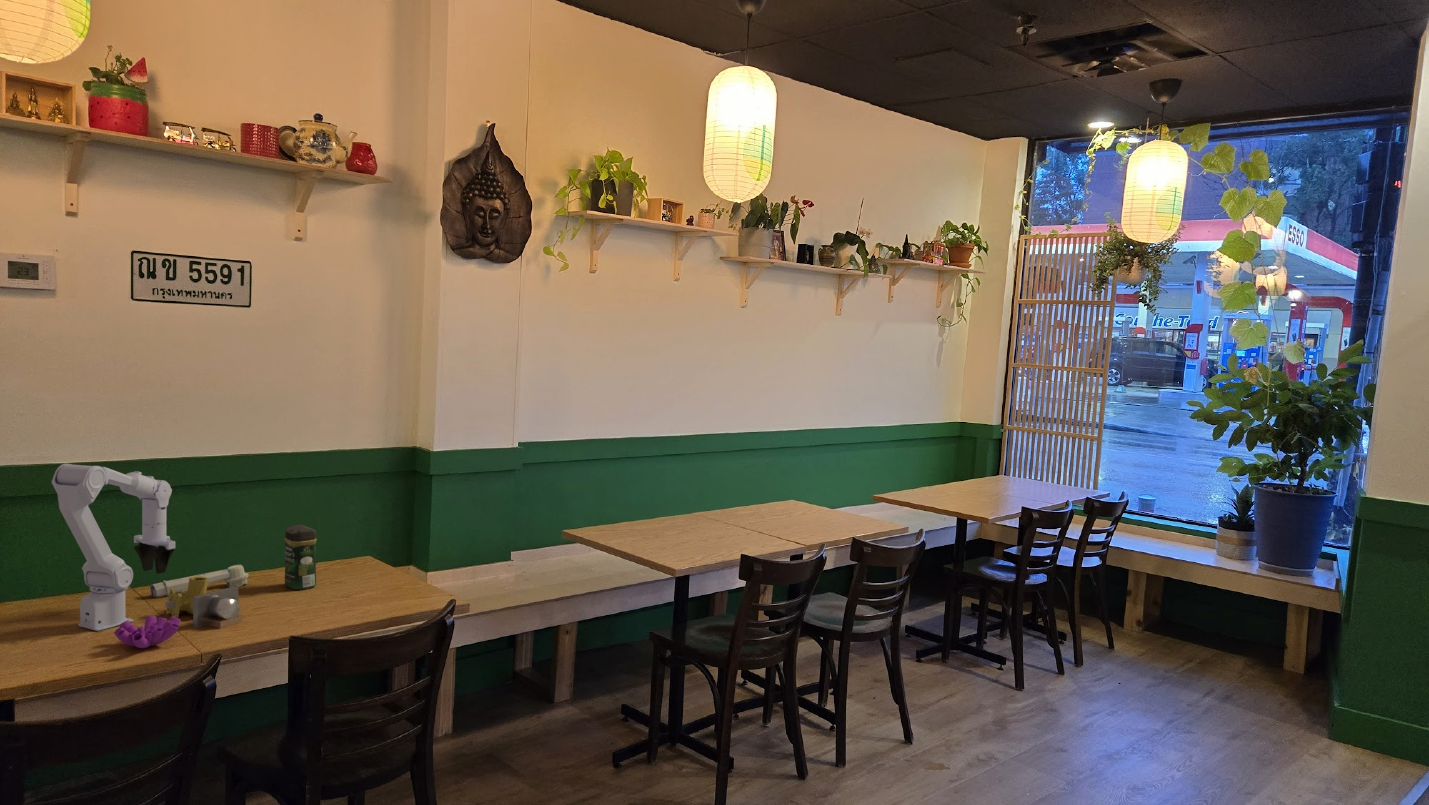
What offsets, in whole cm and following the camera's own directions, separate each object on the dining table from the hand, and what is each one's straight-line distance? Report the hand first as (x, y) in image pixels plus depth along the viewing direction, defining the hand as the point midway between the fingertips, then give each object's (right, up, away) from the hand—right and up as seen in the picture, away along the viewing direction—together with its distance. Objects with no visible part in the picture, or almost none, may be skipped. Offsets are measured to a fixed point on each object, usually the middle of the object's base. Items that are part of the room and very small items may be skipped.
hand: (154, 571), depth 255 cm
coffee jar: (+29, -10, +26) cm, 40 cm away
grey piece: (+3, -9, +18) cm, 20 cm away
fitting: (+24, -12, -10) cm, 29 cm away
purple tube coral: (+16, -13, -29) cm, 35 cm away
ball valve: (+12, -11, -5) cm, 17 cm away
